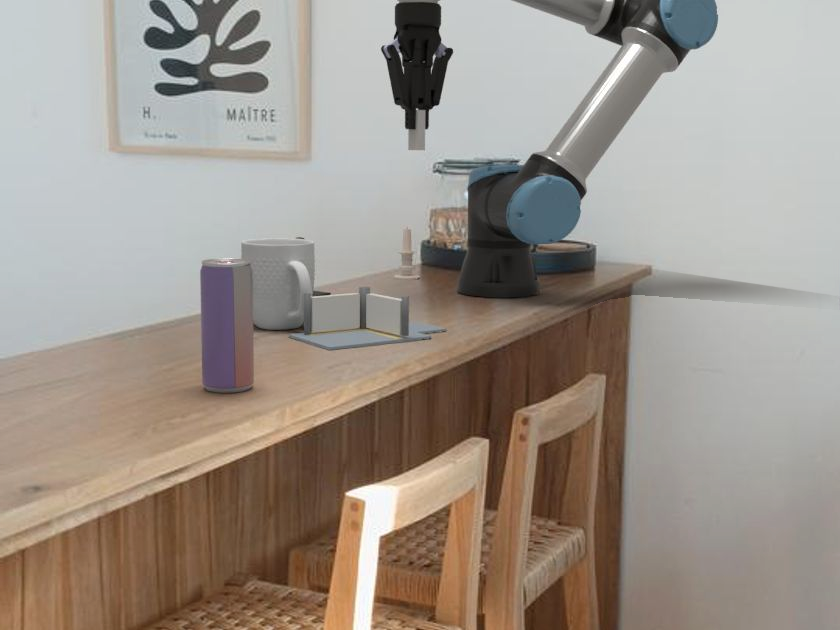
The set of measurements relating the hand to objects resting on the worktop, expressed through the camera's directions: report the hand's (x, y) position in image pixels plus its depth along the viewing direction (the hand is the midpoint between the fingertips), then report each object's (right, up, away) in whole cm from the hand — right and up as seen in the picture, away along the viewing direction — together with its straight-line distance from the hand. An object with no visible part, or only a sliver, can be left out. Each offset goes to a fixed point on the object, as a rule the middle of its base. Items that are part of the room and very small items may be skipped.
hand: (416, 149), depth 199 cm
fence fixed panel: (-12, -30, -21) cm, 38 cm away
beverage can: (-22, -36, -57) cm, 71 cm away
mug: (-20, -29, -16) cm, 39 cm away
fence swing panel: (-4, -30, -23) cm, 37 cm away
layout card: (-6, -30, -22) cm, 38 cm away
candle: (-2, -20, +43) cm, 47 cm away
